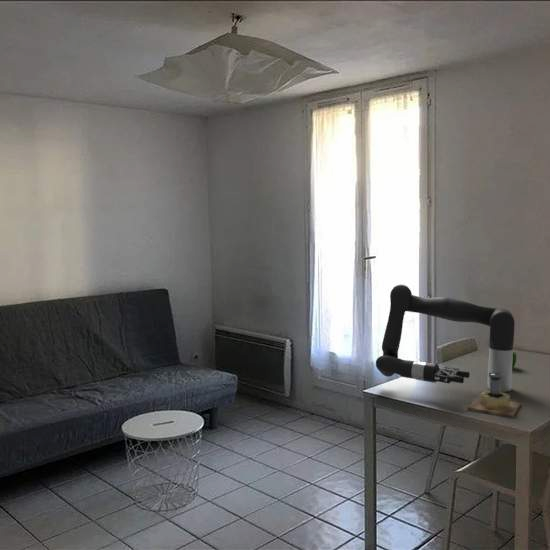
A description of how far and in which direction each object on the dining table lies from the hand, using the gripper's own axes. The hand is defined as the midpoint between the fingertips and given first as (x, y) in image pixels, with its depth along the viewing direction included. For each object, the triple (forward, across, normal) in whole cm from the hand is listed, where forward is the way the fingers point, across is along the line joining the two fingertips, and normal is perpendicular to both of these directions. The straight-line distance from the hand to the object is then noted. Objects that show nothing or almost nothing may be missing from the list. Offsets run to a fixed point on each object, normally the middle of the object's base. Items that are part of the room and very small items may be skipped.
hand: (466, 377), depth 228 cm
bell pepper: (+3, +62, +10) cm, 63 cm away
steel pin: (+11, 0, +9) cm, 14 cm away
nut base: (+11, 0, +10) cm, 15 cm away
